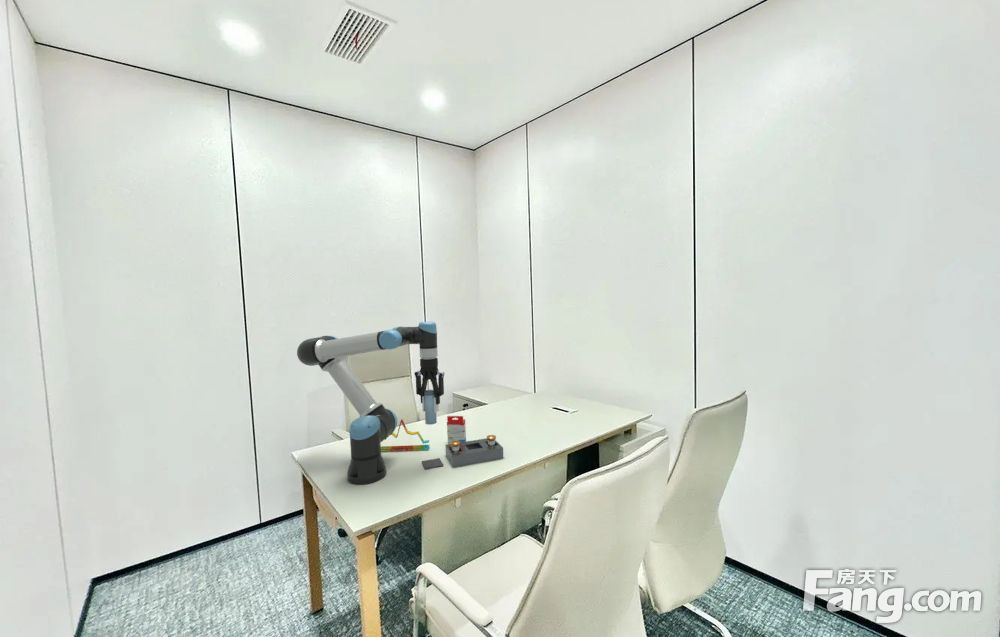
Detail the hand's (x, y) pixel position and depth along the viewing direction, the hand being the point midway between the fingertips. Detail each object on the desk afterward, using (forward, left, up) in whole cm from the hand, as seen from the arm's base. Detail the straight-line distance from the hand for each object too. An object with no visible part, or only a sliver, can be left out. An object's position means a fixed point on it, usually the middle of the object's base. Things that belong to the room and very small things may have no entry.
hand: (430, 411), depth 169 cm
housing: (+19, 0, -24) cm, 30 cm away
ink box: (+16, +19, -24) cm, 34 cm away
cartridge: (0, 0, -5) cm, 5 cm away
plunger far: (+27, 0, -23) cm, 36 cm away
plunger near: (+10, 0, -23) cm, 25 cm away
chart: (-13, +23, -24) cm, 35 cm away
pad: (0, 0, -24) cm, 24 cm away
